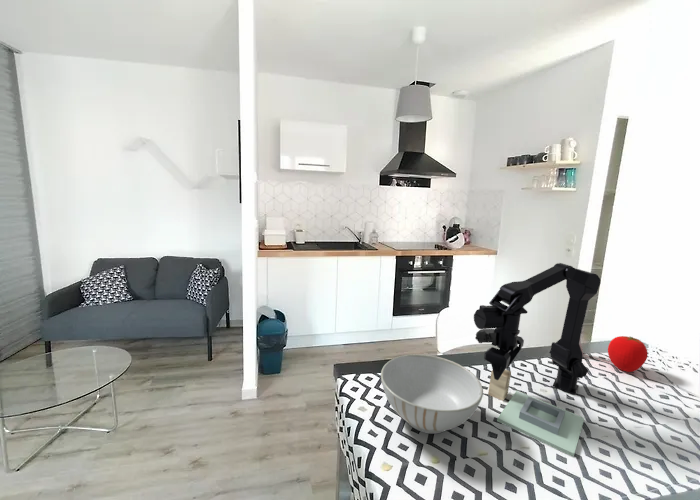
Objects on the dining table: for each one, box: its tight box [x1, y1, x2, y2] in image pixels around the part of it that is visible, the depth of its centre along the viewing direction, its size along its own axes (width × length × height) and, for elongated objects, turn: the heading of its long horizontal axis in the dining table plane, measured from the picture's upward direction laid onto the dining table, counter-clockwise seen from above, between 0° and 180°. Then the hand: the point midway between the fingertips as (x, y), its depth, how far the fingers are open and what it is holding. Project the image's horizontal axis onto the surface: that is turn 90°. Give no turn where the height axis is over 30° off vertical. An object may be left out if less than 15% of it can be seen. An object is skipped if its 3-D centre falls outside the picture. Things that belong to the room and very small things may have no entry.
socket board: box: [497, 390, 585, 458], centre depth 94 cm, size 18×18×3 cm
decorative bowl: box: [380, 353, 484, 434], centre depth 92 cm, size 27×27×12 cm
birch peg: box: [487, 369, 512, 402], centre depth 105 cm, size 4×4×8 cm
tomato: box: [607, 335, 648, 373], centre depth 124 cm, size 11×11×13 cm
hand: (501, 373), depth 104 cm, fingers open, 9 cm apart
